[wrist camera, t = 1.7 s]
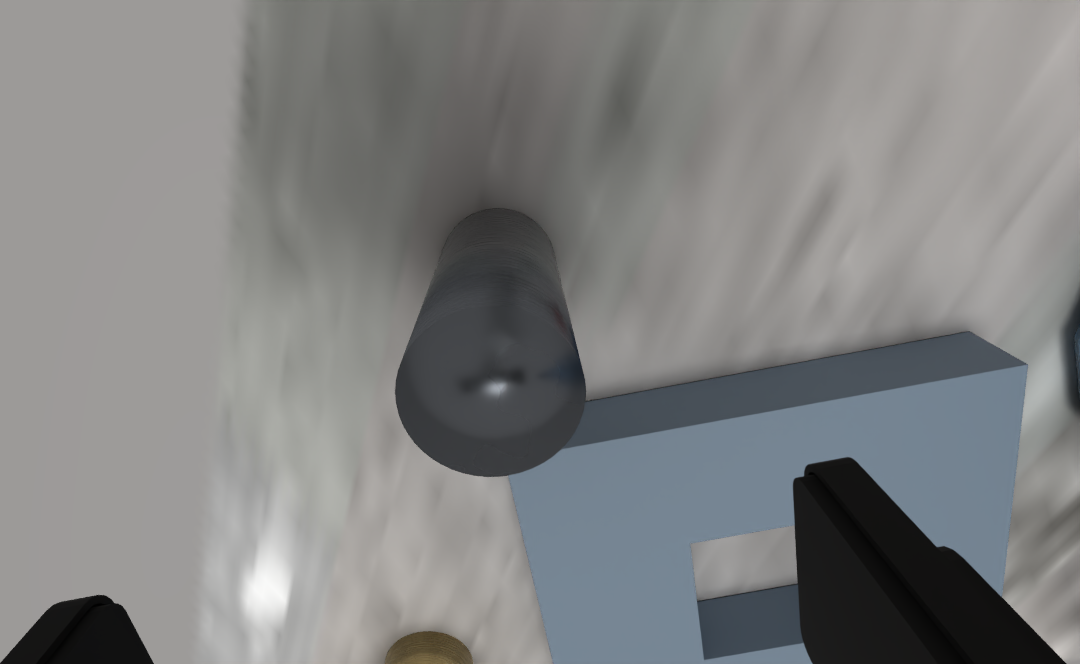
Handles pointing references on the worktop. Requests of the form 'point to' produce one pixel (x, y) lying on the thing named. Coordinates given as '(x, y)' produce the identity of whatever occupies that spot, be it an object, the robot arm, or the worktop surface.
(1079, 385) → the wine bottle
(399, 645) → the short brass pin
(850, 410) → the sleeve block
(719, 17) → the worktop surface
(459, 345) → the tall steel pin
